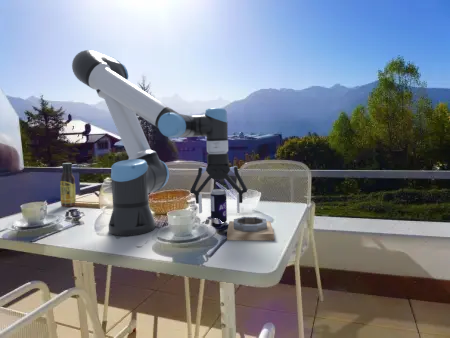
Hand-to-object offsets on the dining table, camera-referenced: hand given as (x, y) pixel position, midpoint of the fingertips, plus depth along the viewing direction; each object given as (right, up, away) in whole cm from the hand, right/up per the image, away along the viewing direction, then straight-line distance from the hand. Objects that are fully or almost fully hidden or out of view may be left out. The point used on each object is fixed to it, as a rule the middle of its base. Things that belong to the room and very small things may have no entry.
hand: (219, 212), depth 116 cm
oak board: (+10, -5, -12) cm, 17 cm away
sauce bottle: (-70, -2, +34) cm, 78 cm away
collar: (+10, -3, -12) cm, 16 cm away
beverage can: (0, -4, 0) cm, 4 cm away
